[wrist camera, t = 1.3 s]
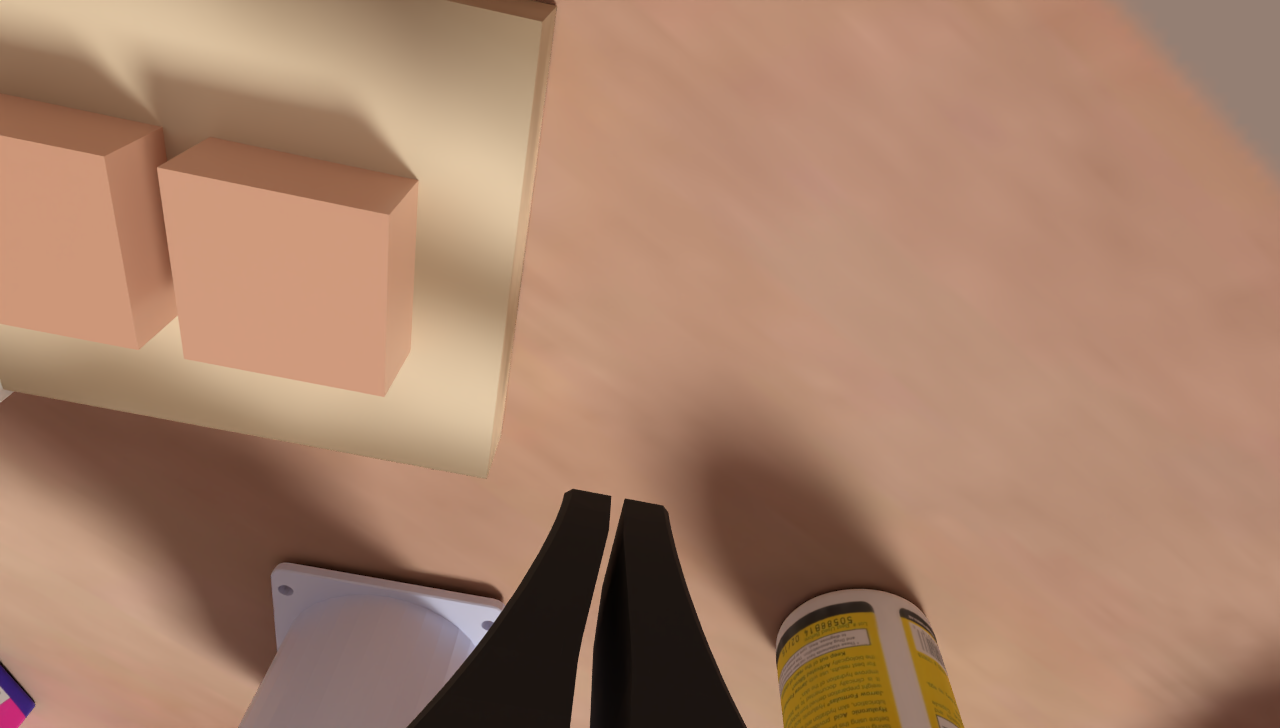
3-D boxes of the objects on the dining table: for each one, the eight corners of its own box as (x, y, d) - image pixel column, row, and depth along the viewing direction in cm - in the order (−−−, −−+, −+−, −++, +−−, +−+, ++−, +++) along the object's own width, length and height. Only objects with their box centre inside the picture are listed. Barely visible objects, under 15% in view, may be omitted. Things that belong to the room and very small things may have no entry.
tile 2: (186, 307, 19) (138, 350, 18) (-3, 270, 19) (-70, 310, 17) (162, 127, 17) (104, 156, 15) (-56, 81, 17) (-140, 106, 15)
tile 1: (410, 351, 20) (384, 397, 18) (228, 315, 19) (183, 359, 18) (418, 180, 17) (389, 214, 15) (209, 136, 17) (157, 167, 15)
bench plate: (501, 434, 23) (486, 478, 22) (54, 349, 23) (3, 389, 21) (557, 6, 17) (542, 21, 15) (-67, -134, 16) (-154, -134, 14)
